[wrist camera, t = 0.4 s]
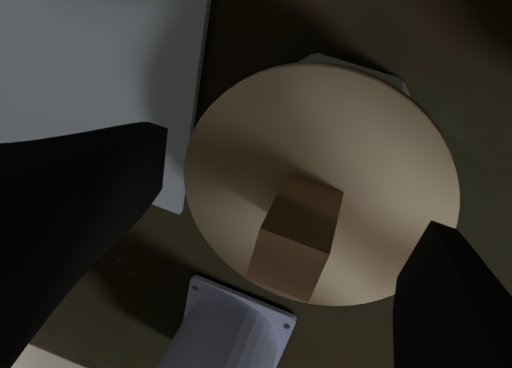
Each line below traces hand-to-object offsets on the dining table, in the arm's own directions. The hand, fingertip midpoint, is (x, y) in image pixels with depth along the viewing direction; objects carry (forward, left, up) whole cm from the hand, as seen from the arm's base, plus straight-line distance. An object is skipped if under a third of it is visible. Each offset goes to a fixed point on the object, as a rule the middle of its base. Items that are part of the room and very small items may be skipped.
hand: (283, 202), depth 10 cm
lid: (-3, -1, -6) cm, 7 cm away
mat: (-3, +14, -10) cm, 18 cm away
